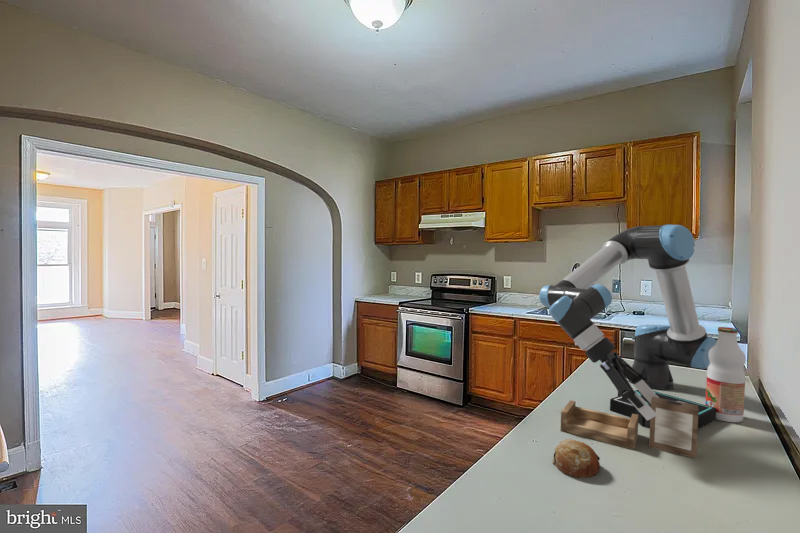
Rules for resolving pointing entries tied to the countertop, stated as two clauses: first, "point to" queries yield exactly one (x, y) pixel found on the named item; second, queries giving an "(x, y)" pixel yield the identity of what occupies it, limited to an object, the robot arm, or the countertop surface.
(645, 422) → the wall plaque
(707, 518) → the countertop surface
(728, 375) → the fruit juice
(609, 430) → the wooden tray
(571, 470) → the bread roll
